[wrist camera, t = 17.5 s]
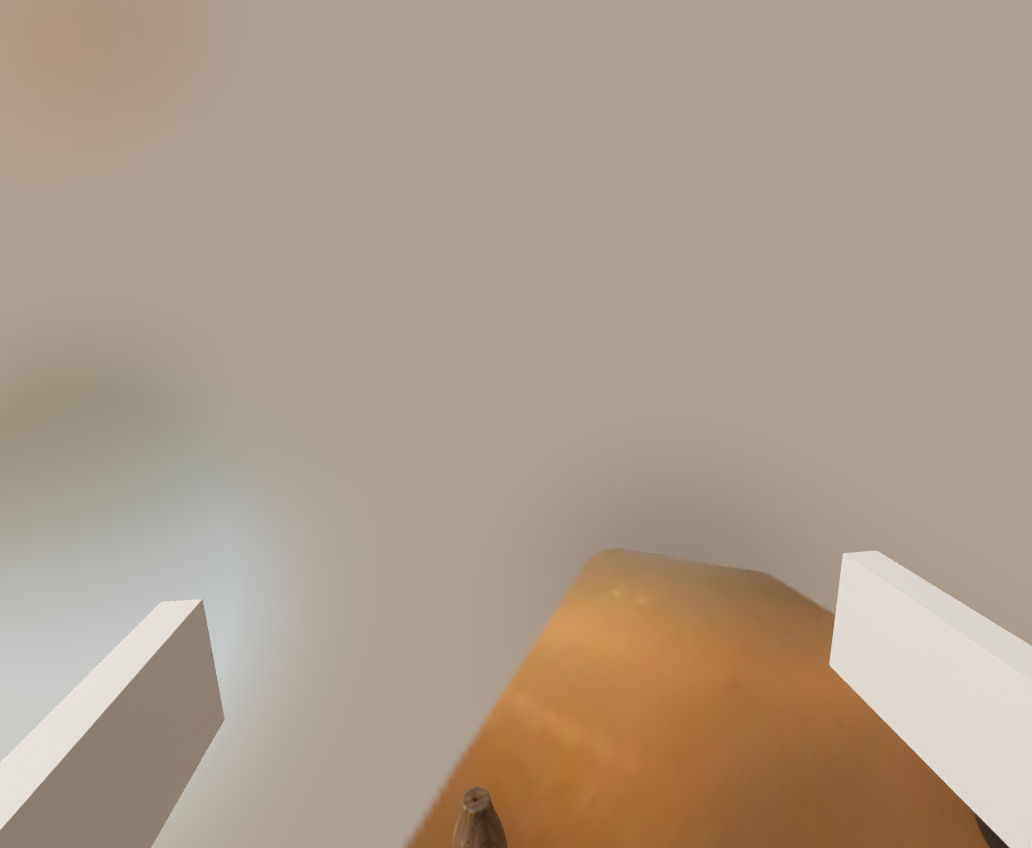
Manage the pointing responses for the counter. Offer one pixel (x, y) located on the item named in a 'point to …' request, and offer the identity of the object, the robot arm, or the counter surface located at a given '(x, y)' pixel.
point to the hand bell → (478, 822)
